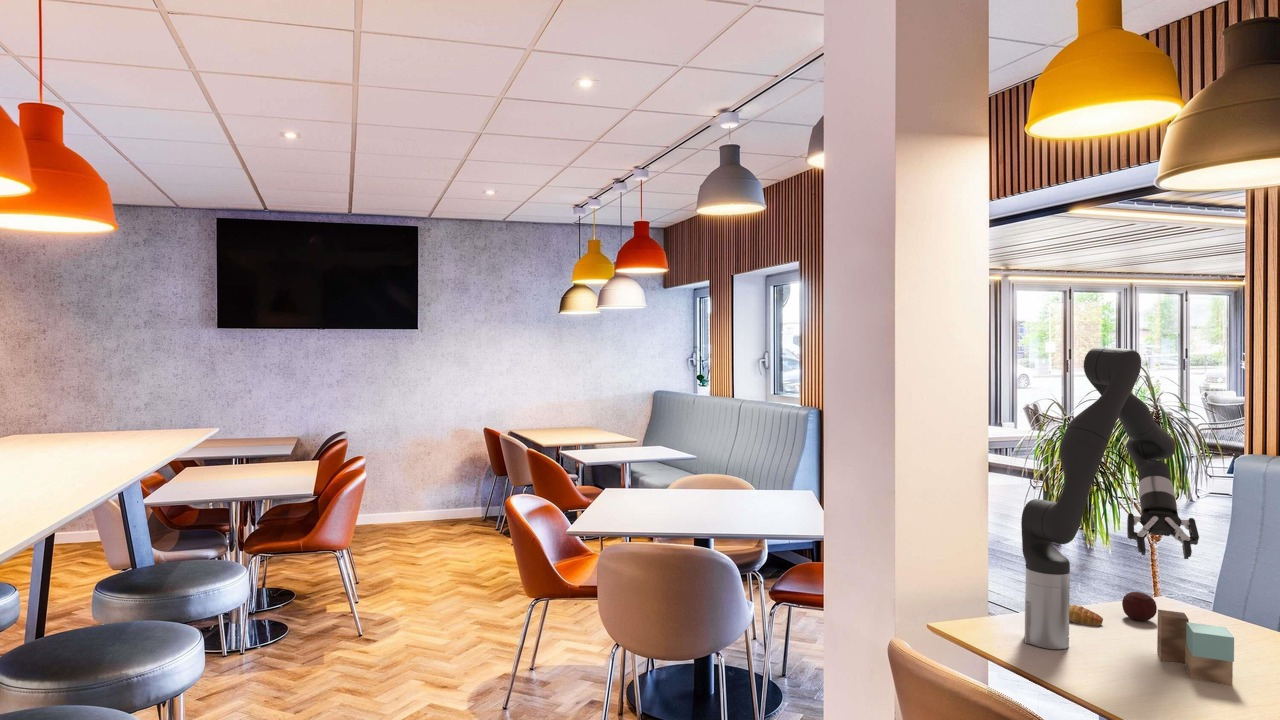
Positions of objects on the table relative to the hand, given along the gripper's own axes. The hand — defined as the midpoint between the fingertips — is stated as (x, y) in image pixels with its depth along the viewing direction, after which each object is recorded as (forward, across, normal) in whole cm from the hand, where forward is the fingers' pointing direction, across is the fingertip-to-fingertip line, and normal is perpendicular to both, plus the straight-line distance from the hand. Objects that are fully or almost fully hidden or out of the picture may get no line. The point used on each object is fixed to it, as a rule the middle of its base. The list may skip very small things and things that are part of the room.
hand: (1165, 555), depth 185 cm
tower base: (+28, +5, 0) cm, 29 cm away
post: (+23, 0, +6) cm, 24 cm away
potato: (+3, -3, +26) cm, 27 cm away
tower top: (+25, +5, -3) cm, 26 cm away
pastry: (+9, -17, +21) cm, 28 cm away
